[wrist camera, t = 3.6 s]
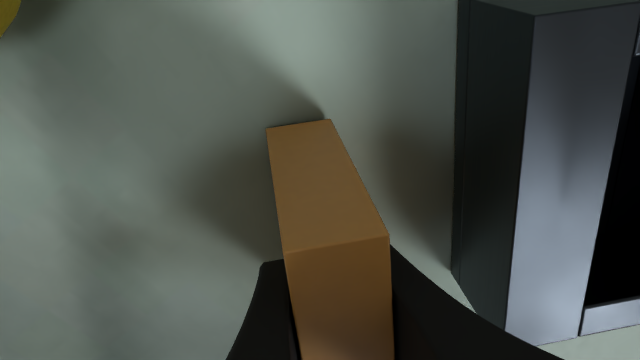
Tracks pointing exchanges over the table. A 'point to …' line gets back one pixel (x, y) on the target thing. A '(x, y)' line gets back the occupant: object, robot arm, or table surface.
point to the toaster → (548, 165)
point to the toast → (331, 246)
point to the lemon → (7, 13)
